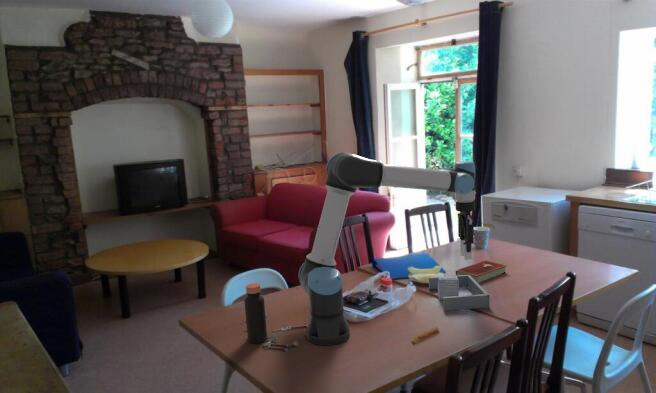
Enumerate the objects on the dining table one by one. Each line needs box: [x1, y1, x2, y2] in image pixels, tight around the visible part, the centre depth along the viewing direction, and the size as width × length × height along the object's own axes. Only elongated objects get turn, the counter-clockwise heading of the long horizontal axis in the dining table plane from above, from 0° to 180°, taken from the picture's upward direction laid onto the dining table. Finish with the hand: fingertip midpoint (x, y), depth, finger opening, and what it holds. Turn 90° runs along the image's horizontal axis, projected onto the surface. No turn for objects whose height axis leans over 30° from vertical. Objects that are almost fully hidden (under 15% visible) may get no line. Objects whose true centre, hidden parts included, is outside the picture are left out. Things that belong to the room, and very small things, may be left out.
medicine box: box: [437, 275, 460, 301], centre depth 201 cm, size 8×4×9 cm, turn 84°
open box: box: [428, 274, 490, 311], centre depth 202 cm, size 24×18×5 cm
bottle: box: [243, 282, 268, 344], centre depth 173 cm, size 7×7×20 cm
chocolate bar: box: [410, 326, 440, 344], centre depth 169 cm, size 3×12×2 cm, turn 127°
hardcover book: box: [455, 260, 508, 284], centre depth 227 cm, size 12×21×4 cm, turn 125°
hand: (465, 257), depth 199 cm, fingers open, 4 cm apart
